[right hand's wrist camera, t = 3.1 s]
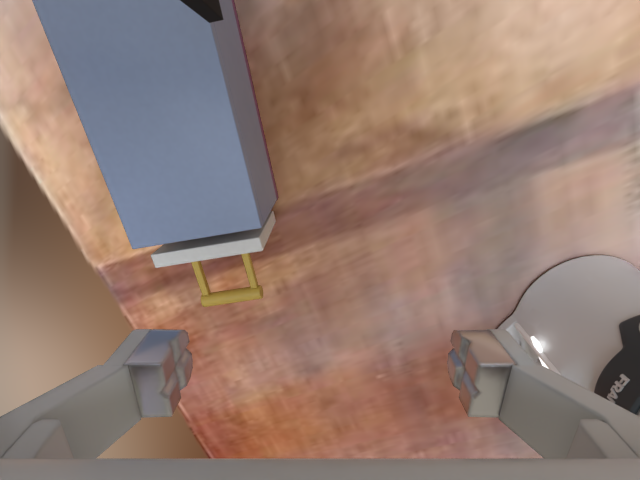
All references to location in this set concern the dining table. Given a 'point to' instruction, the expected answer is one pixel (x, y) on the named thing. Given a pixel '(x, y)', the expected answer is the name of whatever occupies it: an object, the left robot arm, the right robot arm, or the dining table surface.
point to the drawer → (216, 249)
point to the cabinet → (166, 114)
